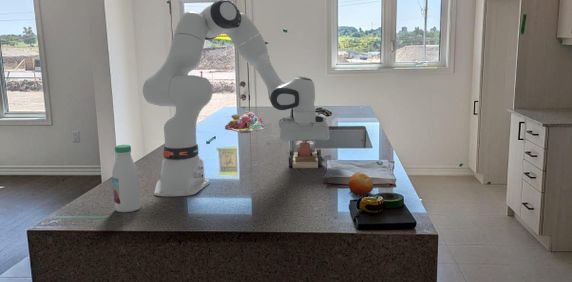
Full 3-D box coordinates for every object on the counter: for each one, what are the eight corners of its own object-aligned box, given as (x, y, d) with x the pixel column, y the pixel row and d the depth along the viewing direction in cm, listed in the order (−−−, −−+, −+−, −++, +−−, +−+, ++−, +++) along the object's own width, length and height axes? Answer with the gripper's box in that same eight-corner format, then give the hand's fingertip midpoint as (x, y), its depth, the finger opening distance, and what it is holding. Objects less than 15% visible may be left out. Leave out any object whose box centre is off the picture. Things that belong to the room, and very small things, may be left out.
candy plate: (217, 128, 300) (216, 112, 298) (249, 123, 315) (248, 108, 314) (244, 133, 282) (243, 116, 280) (276, 127, 298) (275, 111, 296)
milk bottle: (143, 204, 163) (138, 142, 159) (137, 212, 155) (132, 148, 151) (119, 205, 163) (113, 143, 159) (112, 213, 155) (105, 148, 151)
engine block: (309, 156, 207) (309, 142, 206) (299, 156, 207) (299, 142, 206) (309, 153, 212) (309, 139, 211) (299, 153, 212) (299, 139, 211)
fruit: (351, 184, 175) (362, 166, 171) (369, 199, 171) (380, 181, 167) (338, 190, 168) (349, 171, 164) (356, 205, 165) (367, 187, 161)
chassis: (322, 167, 203) (321, 150, 201) (288, 168, 203) (288, 151, 202) (320, 156, 222) (320, 140, 221) (290, 156, 223) (289, 141, 222)
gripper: (278, 118, 203) (279, 152, 206) (329, 118, 203) (330, 152, 206) (278, 116, 210) (279, 149, 212) (329, 115, 209) (329, 148, 212)
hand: (304, 150), depth 209 cm, fingers closed on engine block, 4 cm apart
